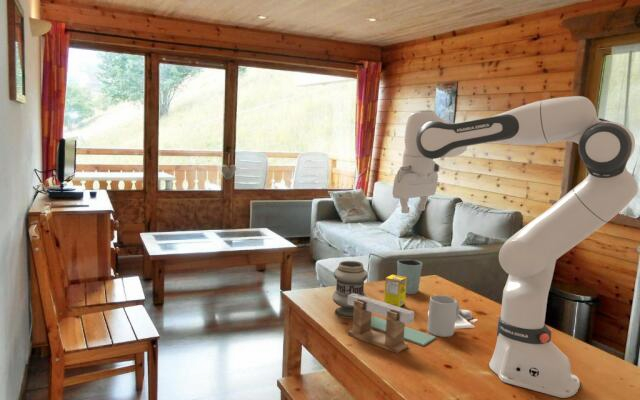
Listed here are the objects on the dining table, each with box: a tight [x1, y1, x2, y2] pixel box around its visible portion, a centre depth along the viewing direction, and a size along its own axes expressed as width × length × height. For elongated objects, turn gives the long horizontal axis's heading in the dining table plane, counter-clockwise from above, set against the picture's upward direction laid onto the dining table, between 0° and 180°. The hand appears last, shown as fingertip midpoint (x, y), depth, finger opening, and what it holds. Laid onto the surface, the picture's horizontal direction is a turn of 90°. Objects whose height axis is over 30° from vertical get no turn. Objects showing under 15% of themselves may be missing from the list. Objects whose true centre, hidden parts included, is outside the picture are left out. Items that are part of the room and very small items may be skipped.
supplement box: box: [383, 274, 407, 308], centre depth 181 cm, size 6×6×11 cm
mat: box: [371, 315, 436, 347], centre depth 158 cm, size 24×8×1 cm, turn 50°
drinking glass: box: [396, 258, 423, 295], centre depth 200 cm, size 10×10×12 cm
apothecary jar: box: [331, 260, 369, 319], centre depth 170 cm, size 12×12×18 cm
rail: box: [347, 293, 415, 325], centre depth 148 cm, size 22×3×3 cm, turn 50°
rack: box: [347, 300, 409, 354], centre depth 149 cm, size 18×6×11 cm, turn 50°
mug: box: [426, 294, 461, 338], centre depth 160 cm, size 12×8×11 cm
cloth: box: [427, 308, 478, 330], centre depth 173 cm, size 22×19×6 cm
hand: (413, 211), depth 147 cm, fingers open, 8 cm apart
